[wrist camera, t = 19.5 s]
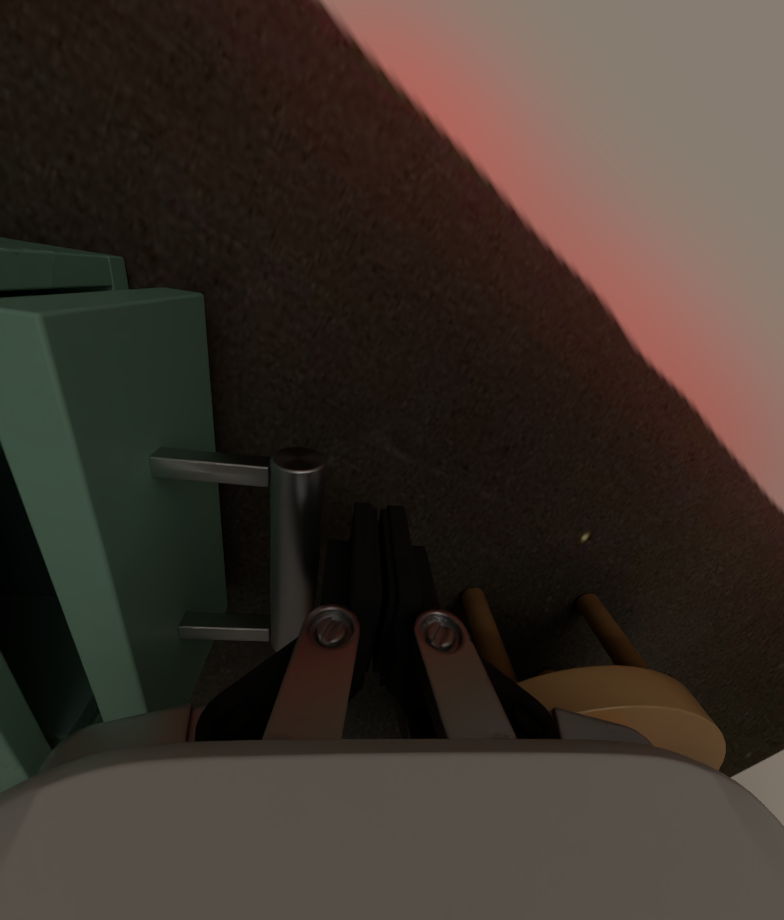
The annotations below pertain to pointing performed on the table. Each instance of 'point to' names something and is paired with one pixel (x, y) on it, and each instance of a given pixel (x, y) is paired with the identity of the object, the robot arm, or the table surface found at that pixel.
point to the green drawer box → (38, 273)
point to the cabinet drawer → (128, 507)
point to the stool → (609, 685)
